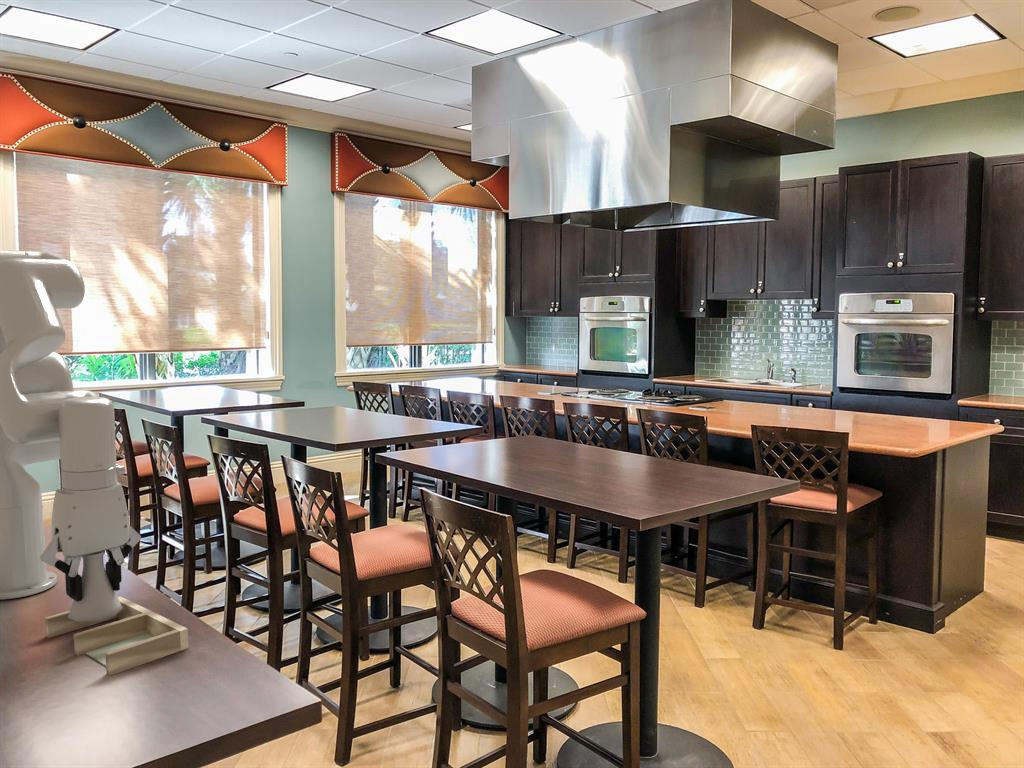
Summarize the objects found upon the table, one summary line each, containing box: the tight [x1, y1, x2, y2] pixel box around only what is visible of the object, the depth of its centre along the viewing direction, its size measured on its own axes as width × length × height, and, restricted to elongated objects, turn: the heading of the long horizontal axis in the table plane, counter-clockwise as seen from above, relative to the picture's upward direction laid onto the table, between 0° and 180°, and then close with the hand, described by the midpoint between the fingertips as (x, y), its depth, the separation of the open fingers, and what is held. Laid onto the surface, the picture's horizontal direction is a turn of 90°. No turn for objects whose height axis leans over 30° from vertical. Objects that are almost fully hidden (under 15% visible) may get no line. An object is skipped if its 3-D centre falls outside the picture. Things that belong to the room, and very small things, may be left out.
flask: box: [68, 551, 123, 622], centre depth 128 cm, size 7×7×10 cm
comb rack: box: [44, 595, 190, 677], centre depth 125 cm, size 21×12×3 cm, turn 51°
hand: (94, 592), depth 128 cm, fingers closed on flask, 5 cm apart
